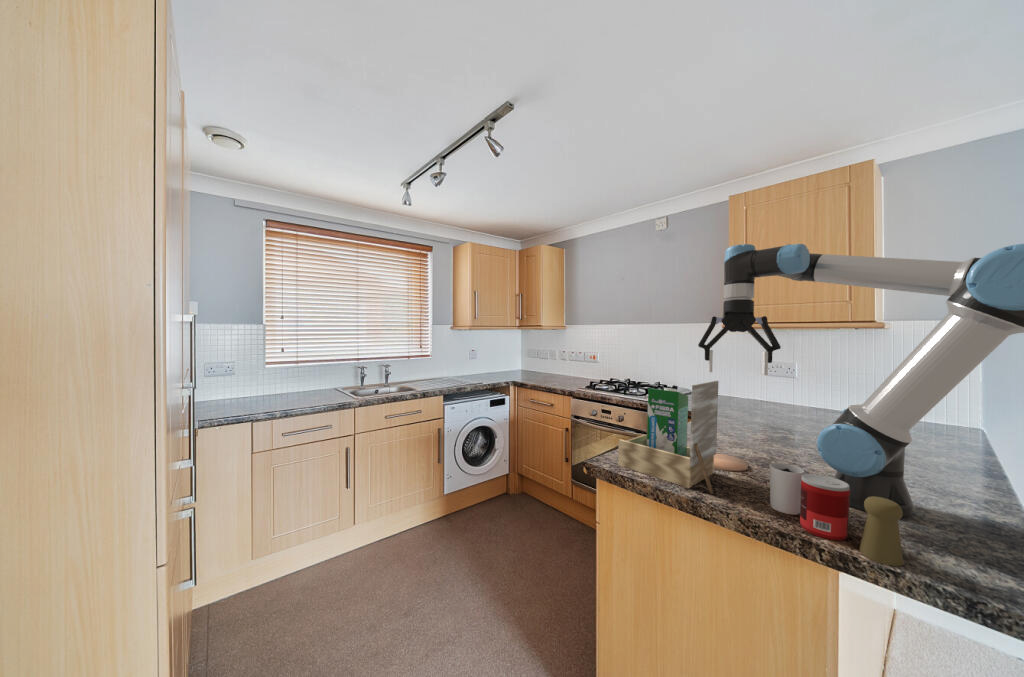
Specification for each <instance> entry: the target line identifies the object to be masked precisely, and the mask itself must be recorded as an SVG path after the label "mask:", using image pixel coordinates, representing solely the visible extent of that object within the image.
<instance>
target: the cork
mask: <svg viewBox="0 0 1024 677" xmlns="http://www.w3.org/2000/svg"><path fill="white" fill-rule="evenodd" d="M864 507H865V510H866V511H865V512H866V513H867V514H866V519H865V524H864V526H863V527H864V528H863V530H862V536H861V540H860V544H859V548H858V550H859V552H860V553H861V554H862V555H863V556H865V557H866V558H867V559H870V560H872V561H873V562H877V563H878V564H882V565H886V566H890V565H894V566H893V567H902V566H901V565H903V566H904V565H905V562H904V556H903V555H904V554H903V549H902V542H901V533H900V527H899V521H900V520H901V519H902V518H903V517H902V515H903V512H902V509H901V507H900V506H899V505H898V504H897V503H896V502H894V501H892V500H889V499H885V498H881V497H874V496H872V497H868V498H867V499H865V501H864Z"/></svg>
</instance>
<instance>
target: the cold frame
mask: <svg viewBox="0 0 1024 677" xmlns="http://www.w3.org/2000/svg"><path fill="white" fill-rule="evenodd" d="M719 383H720V382H719V380H712V381H707V382H704V383H702V382H701V383H697V384H693V385H691V387H692V388H691V408H690V409H691V412H690V413H691V416H690V443H689V444H690V447H689V446H687V457H685V456H681V455H678V454H674V453H670V452H666V451H663V450H659V449H655V448H651V447H648V446H647V434H641V435H638V436H635V437H633V438H629V439H627V440H624V439H621V438H620V439H618V445H617V446H618V450H617V455H618V456H617V466H620V467H623V468H625V469H629V470H632V471H635V472H638V473H641V474H644V475H647V476H651V477H653V478H657V479H659V480H663V481H665V480H666V482H669V483H671V482H672V483H671V484H675V485H678V486H681V487H684V488H687V489H690V488H692V487H693V485H694V486H695V485H697V484H699V482H702V481H703V480H705V483H706V486H707V489H708V492H709V494H710V495H713V494H715V492H714V490H713V486H712V484H711V480H710V477H709V476H711V475H713V474H714V470H715V468H714V455H715V454H716V453H717V441H718V440H717V438H718V436H717V435H718V412H719V411H718V408H719V407H718V406H719Z"/></svg>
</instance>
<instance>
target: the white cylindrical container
mask: <svg viewBox="0 0 1024 677" xmlns="http://www.w3.org/2000/svg"><path fill="white" fill-rule="evenodd" d="M802 475H805V470H804V469H803V468H801V467H799V466H796V465H793V464H788V463H782V462H771V463H770V464H769V491H770V494H769V498H770V500H769V501H770V504H769V505H770V507H771V508H772V509H774V510H775V511H777V512H779V513H783V514H786V515H800V501H801V478H802Z"/></svg>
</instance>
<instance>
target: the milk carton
mask: <svg viewBox="0 0 1024 677" xmlns="http://www.w3.org/2000/svg"><path fill="white" fill-rule="evenodd" d="M647 392H648V393H647V420H646V421H647V422H646V423H647V424H646V426H647V427H646V429H647V430H646V435H647V446H648V447H651V448H655V449H659V450H663V451H666V452H670V453H674V454H678V455H681V456H685V457H687V447H688V424H689V423H688V419H689V417H688V416H689V395H687V394H685V393H681V391H678V389H675V388H670V387H664V388H663V389H657V388H650V387H649V388H648V390H647Z"/></svg>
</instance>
